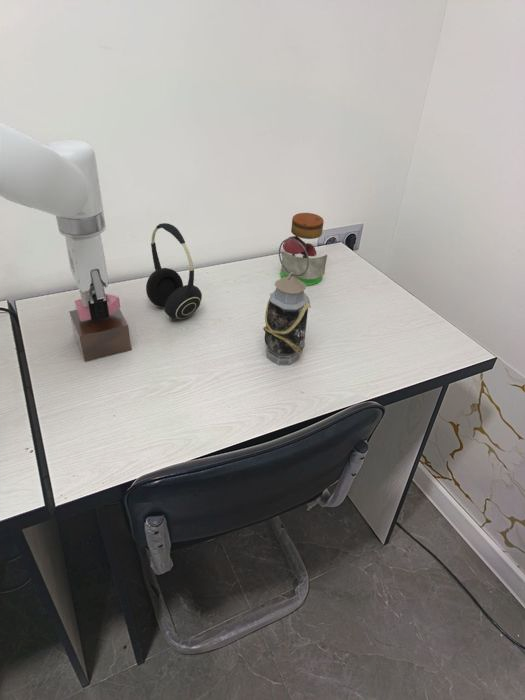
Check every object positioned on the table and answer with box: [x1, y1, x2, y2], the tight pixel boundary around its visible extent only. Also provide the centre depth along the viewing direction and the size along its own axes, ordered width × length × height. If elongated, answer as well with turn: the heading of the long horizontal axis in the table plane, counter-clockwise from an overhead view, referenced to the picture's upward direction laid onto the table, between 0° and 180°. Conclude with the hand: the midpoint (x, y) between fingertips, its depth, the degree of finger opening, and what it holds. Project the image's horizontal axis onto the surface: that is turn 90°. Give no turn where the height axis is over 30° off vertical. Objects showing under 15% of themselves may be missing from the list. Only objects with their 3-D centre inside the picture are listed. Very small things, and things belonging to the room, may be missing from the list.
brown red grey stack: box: [279, 212, 328, 287], centre depth 120 cm, size 12×13×15 cm
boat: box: [74, 289, 121, 321], centre depth 92 cm, size 8×4×5 cm, turn 118°
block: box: [68, 308, 132, 363], centre depth 96 cm, size 9×9×6 cm
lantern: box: [263, 237, 311, 366], centre depth 91 cm, size 9×8×25 cm
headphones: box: [145, 222, 203, 320], centre depth 102 cm, size 9×15×20 cm, turn 41°
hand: (97, 311), depth 94 cm, fingers closed on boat, 3 cm apart
